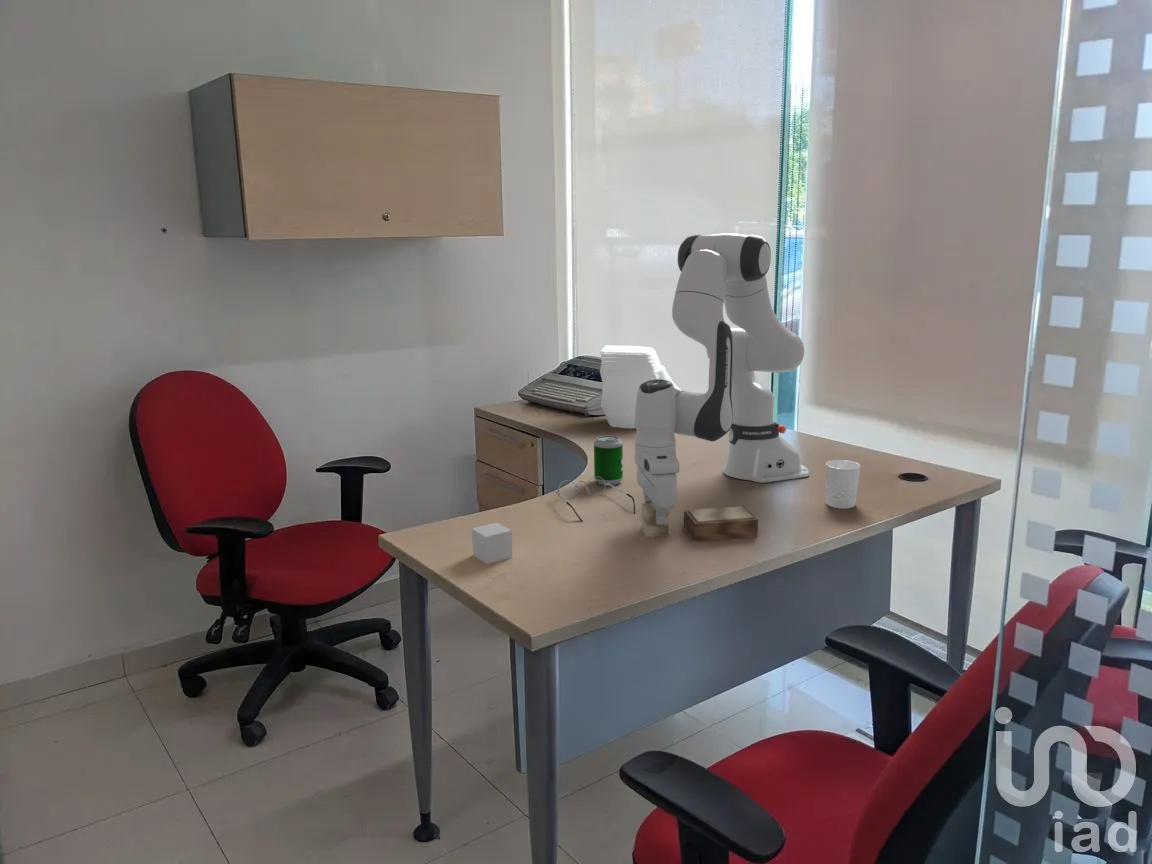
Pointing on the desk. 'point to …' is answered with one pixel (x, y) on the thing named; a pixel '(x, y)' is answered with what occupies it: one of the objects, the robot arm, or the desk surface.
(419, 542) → the desk surface
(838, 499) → the white cup
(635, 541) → the desk surface
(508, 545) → the grey cube
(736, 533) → the plinth
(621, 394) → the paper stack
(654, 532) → the block
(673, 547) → the desk surface
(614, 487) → the eyeglasses
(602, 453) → the soda can
